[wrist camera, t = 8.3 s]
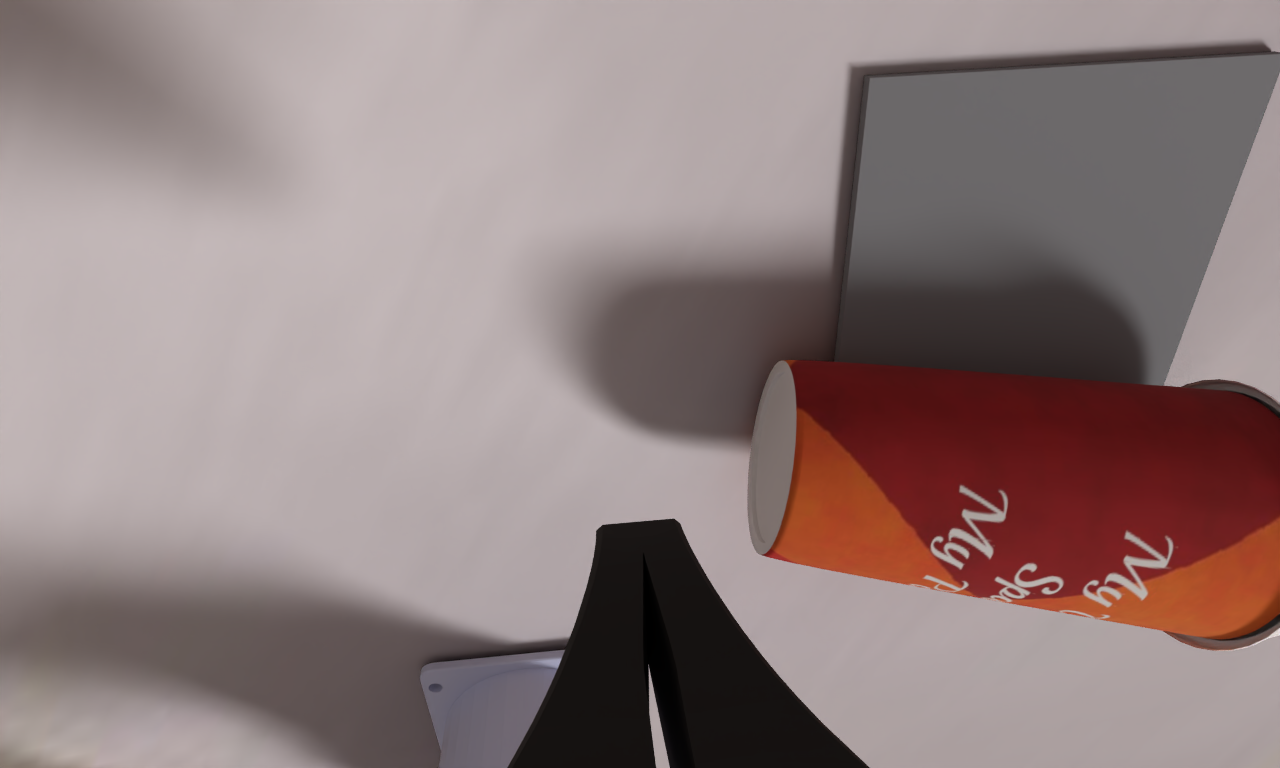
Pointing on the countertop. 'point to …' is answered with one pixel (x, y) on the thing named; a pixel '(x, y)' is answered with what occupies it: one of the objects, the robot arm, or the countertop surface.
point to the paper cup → (1029, 491)
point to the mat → (1043, 212)
